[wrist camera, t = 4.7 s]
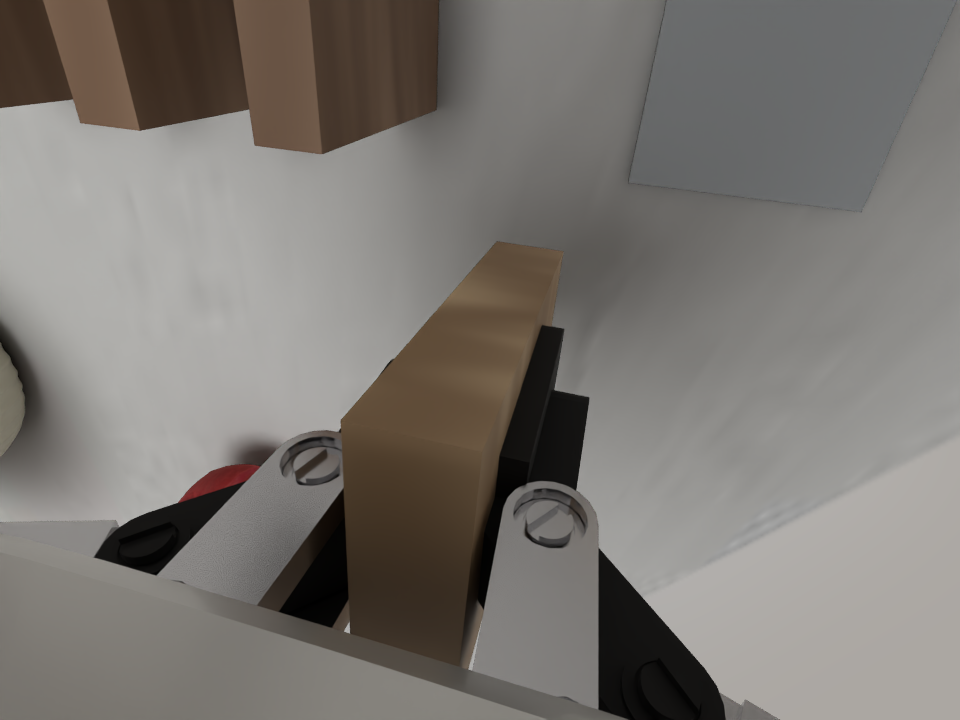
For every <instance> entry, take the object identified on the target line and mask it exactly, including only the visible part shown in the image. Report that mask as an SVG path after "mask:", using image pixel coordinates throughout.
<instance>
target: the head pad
mask: <svg viewBox="0 0 960 720" xmlns="http://www.w3.org/2000/svg"><path fill="white" fill-rule="evenodd" d="M956 2H957V0H667V1H666V5H665V10H664V15H663V19H662V24H661V29H660V34H659V38H658V43H657V48H656V53H655V57H654V62H653V67H652V72H651V76H650V81H649V86H648V91H647V95H646V100H645V105H644V110H643V114H642V119H641V124H640V129H639V133H638V138H637V143H636V148H635V152H634V157H633V162H632V167H631V171H630V176H629V181H628V183H633V184H641V185H648V186H656V187H664V188H672V189H680V190H688V191H696V192H704V193H712V194H720V195H728V196H736V197H744V198H752V199H760V200H768V201H776V202H784V203H792V204H800V205H808V206H816V207H824V208H832V209H840V210H848V211H856V212H862V210H863V208H864V206H865V203H866V201H867V199H868V197H869V194H870V192H871V190H872V188H873V186H874V183H875V181H876V179H877V177H878V175H879V172H880V170H881V168H882V166H883V163H884V161H885V159H886V157H887V155H888V152H889V150H890V148H891V146H892V144H893V141H894V139H895V137H896V135H897V132H898V130H899V128H900V126H901V124H902V121H903V119H904V117H905V115H906V113H907V110H908V108H909V106H910V104H911V102H912V99H913V97H914V95H915V93H916V90H917V88H918V86H919V84H920V82H921V79H922V77H923V75H924V73H925V71H926V68H927V66H928V64H929V62H930V59H931V57H932V55H933V53H934V51H935V48H936V46H937V44H938V42H939V40H940V37H941V35H942V33H943V31H944V28H945V26H946V24H947V22H948V20H949V17H950V15H951V13H952V11H953V9H954V6H955V4H956Z"/></svg>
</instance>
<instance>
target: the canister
mask: <svg viewBox="0 0 960 720" xmlns="http://www.w3.org/2000/svg"><path fill="white" fill-rule="evenodd" d="M17 375H18V371H17V370H16V368H15V367H14V366H13V365H12V363H11V357H10V356H9V355H8V354H7V353H6V352H5V351H4V350H3V348H2V344H1V342H0V457H1V456H2V455H3V454H4V453H5V452H6V450H7V449H8V448H9V447H10V445H11V444H12V442H13V441H14V439H15V437H16V436H17V434H18V432H19V431H20V429H21V426H22V423H23V417H24V415H25V405H24V403H25V395H24V393H23V391H22V388H23V385H22V383H21V381H20V380H19V378H18V376H17Z"/></svg>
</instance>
